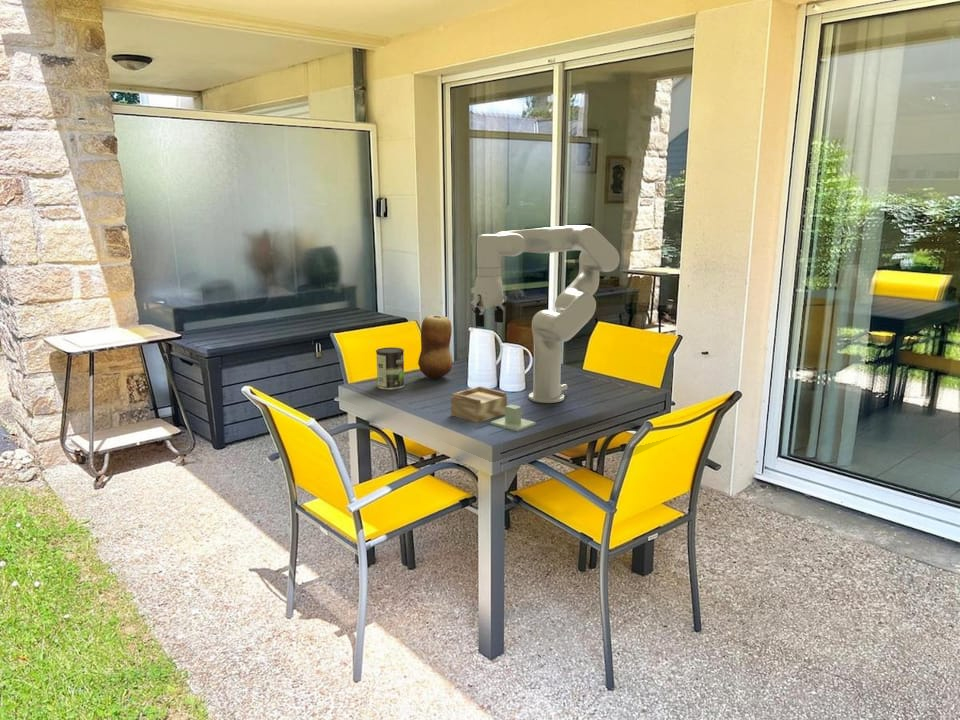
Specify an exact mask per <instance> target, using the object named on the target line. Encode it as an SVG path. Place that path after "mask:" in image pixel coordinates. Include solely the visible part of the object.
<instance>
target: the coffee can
mask: <svg viewBox="0 0 960 720" xmlns="http://www.w3.org/2000/svg"><path fill="white" fill-rule="evenodd" d="M404 351H405V350H404V349H403V348H402V347H396V346H395V347H394V346H393V347H392V346H391V347H381V348H377V349H376V350H375V353H376V372H377V376H376V377H377V388H378V389H380V390H387V391H388V390H399V389H402V388H404V387H405V364H404V363H405V359H404V355H405V354H404Z"/></svg>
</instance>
